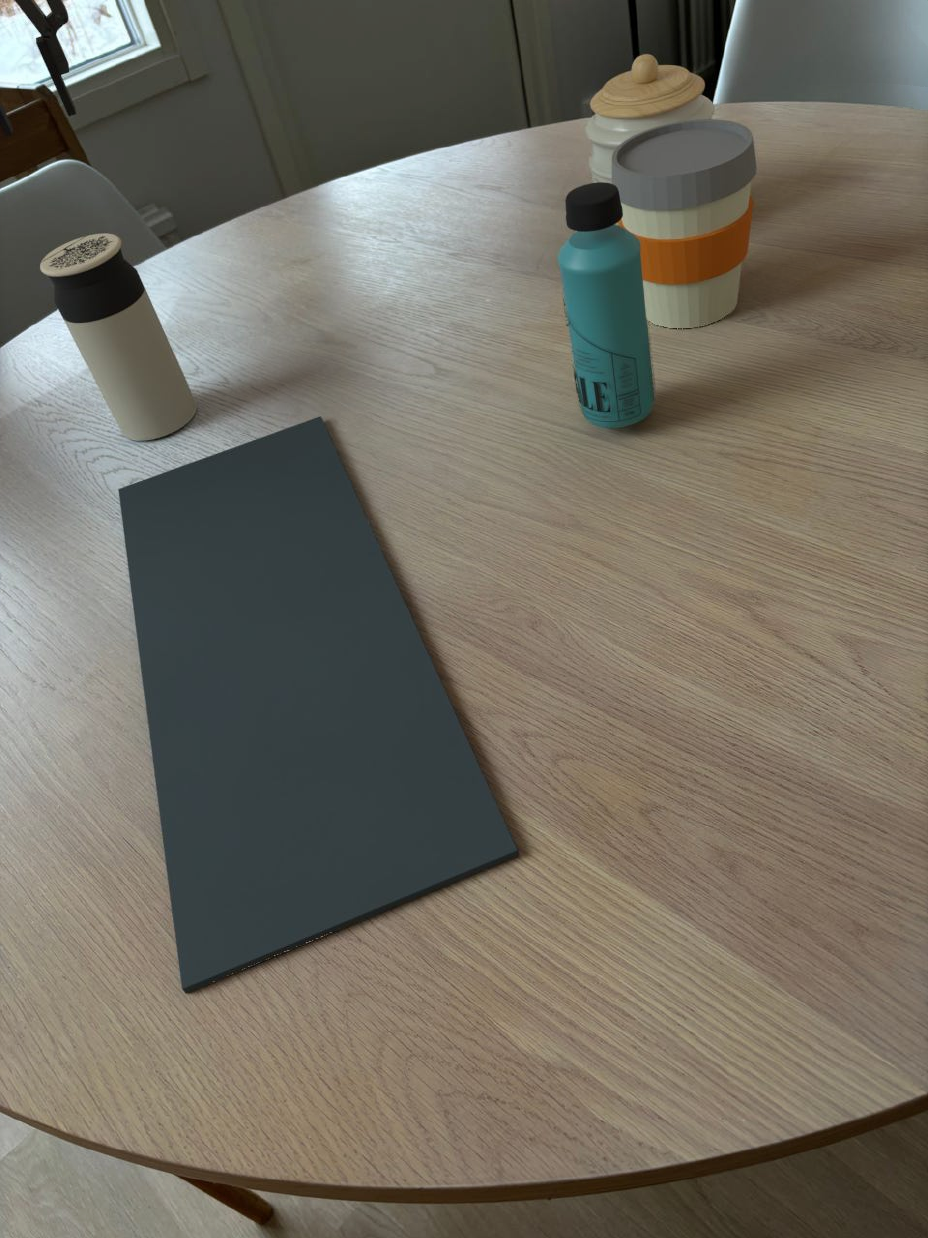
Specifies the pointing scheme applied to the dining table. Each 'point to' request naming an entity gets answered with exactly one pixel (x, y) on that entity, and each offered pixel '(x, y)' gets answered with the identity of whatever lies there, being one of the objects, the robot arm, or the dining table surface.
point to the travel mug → (119, 336)
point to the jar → (641, 108)
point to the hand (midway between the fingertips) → (40, 121)
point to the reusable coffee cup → (688, 215)
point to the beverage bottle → (606, 309)
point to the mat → (290, 708)
